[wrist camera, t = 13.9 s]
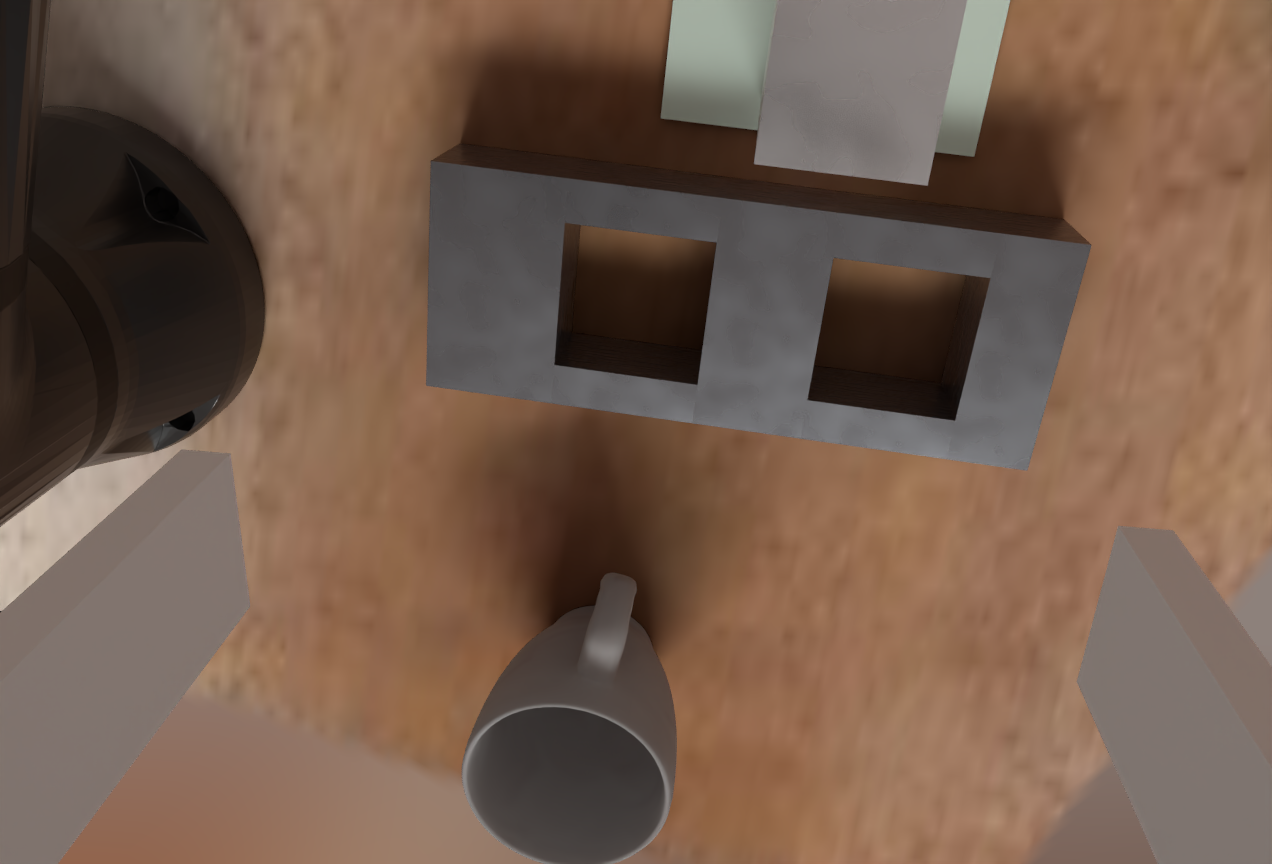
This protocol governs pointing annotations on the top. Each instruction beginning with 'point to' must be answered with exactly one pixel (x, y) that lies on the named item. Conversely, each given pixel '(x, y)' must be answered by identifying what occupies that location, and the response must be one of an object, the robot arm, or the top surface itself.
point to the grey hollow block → (743, 303)
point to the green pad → (737, 51)
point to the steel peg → (857, 86)
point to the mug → (577, 739)
